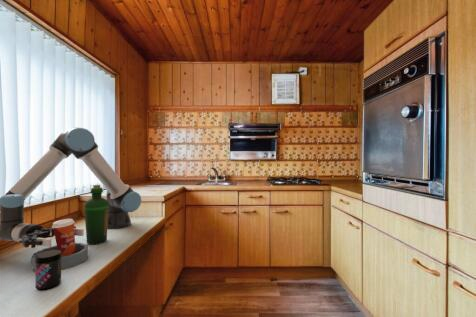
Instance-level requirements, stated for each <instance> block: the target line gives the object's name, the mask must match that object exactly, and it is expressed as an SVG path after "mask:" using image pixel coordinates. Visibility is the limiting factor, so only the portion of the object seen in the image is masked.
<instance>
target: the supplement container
mask: <svg viewBox="0 0 476 317" xmlns="http://www.w3.org/2000/svg"><path fill="white" fill-rule="evenodd" d="M34 273H35V278H34V279H35V280H34V281H35V290H37V291H38V290H39V292H43V291H49V290H53V289H55V288H57V287H59V286H60V285H61V283H62V270H61V251H60V250H50V251H45V252H42V253H39V254H37V255H36V256H35V271H34Z"/></svg>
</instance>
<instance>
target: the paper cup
mask: <svg viewBox="0 0 476 317" xmlns="http://www.w3.org/2000/svg"><path fill="white" fill-rule="evenodd" d="M74 226H75V220H74V219H73V218H63V219H60V220H57V221H54V222H53V223H52V226H51V228H53V230H54V235H55V236H54V237H55V238H54V240H55V245H57V249H58V250H60V251H61V257H65V256H69V255H72V254H74V253H75V243H76V238H75V237H76V235H75V233H74Z"/></svg>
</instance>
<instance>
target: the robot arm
mask: <svg viewBox="0 0 476 317" xmlns="http://www.w3.org/2000/svg"><path fill="white" fill-rule="evenodd" d="M95 140H96V139H95V136H94V134H93V133H92V132H91V131H90V130H89V129H88V128H84V127H73V128H69V129H66V130H63V131H62V132H61V133H60V134H59V135H58V136H57V137H56V139H55V140H54V141H53V142H52V143H51V144H50V146H49V150H47V151H46V152H45V154H44V155H43V156H41V158H40V159H39V160H38V161H37V162H35V164H34V165H32V167H30V169H28V171H27V172H26V173H25V174H23V176H22V177H21V178H20V179H19V180H18V181H17V182H16V183H15V184H14V185H12V187H11V188H10V189H9V190H8V191H7V192H6V193H5V194H3V195H2V196H0V240H2V241H7V242H8V241H10V242H18V243H21V244H22V245H23V247H24V248H29V247H30V246H31V247H30V248H32V249H34V248H36V246H39V247H45V248H48V247H52V239H51V238H54V237H55V235H54V230H53V228H52V227H51V228H44V227H43V226H42V225H40V224H35V223H26V222H24V221H25V218H24V217H25V216H24V212H25V200H26V199H27V198H28V197H29V196H30V195H32V193H33V192H34V191H35V190H36V189H37V188H38V186H40V185H41V183H42V182H43V181H44V180H45V179H46V178H47V177H48V176H49V175H50V174H51V173H52V172H53V171H54V170H55V169H56V168H57V166H58V165H59V164H60V163H62V161H63V160H64V159H68V157H70V156H71V155H73V157H75V158H76V159H77V160H82V162H83V163H84V164H85V165H86V166H87V167H88V169H89V170H90V171H91V172H92V173H93V175H94V176H95V177H96V178H97V180H99V182H100V183H101V184H102V185H103V186H104V188H105V189H106V200H107V201H108V202H109V208H108V226H107V230H108V229H110V230H111V229H121V228H127V227H129V226H131V224H132V222H131V221H132V219H131V217H130V215H129V213H133V212H136V211H137V210H138V209H139V208H140V206H141V204H142V196H141V194H140V193H138V192H137V191H134V190H133V188H132V187H131V186H130V185H129V184H125V183H124V182H123V180H122V178H120V176H119V175H118V174H117V173H116V171H115V170H114V169H113V167H111V165H110V164H109V163H108V162H107V160H106V159H105V158H104V156H103V155H102V154H101V152H100V151H99V149H98V148H99V145H98V144H97V142H96V141H95ZM84 231H85V229H84V228H77V226H75V225H74V233H75V236H78V237H83V236H84V234H85V232H84Z"/></svg>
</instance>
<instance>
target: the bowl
mask: <svg viewBox="0 0 476 317" xmlns="http://www.w3.org/2000/svg"><path fill="white" fill-rule="evenodd" d="M50 250H58V249H57V244H55V245H51V247H45V248H42V249H40V250H38V251H35V252H33V254H32V255H31V257H30V264H31V265H30V266H31V268H32V271H34V272H35V256H36V255H37V254H39V253H42V252H45V251H50ZM88 258H89V244H87V243H82V242H75V253H74V254H72V255H69V256H65V257H61V271H63V270H67V269H71V268H73V267H76V266H78V265H81V264H83V263H84V262H86V261H87V260H88Z"/></svg>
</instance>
